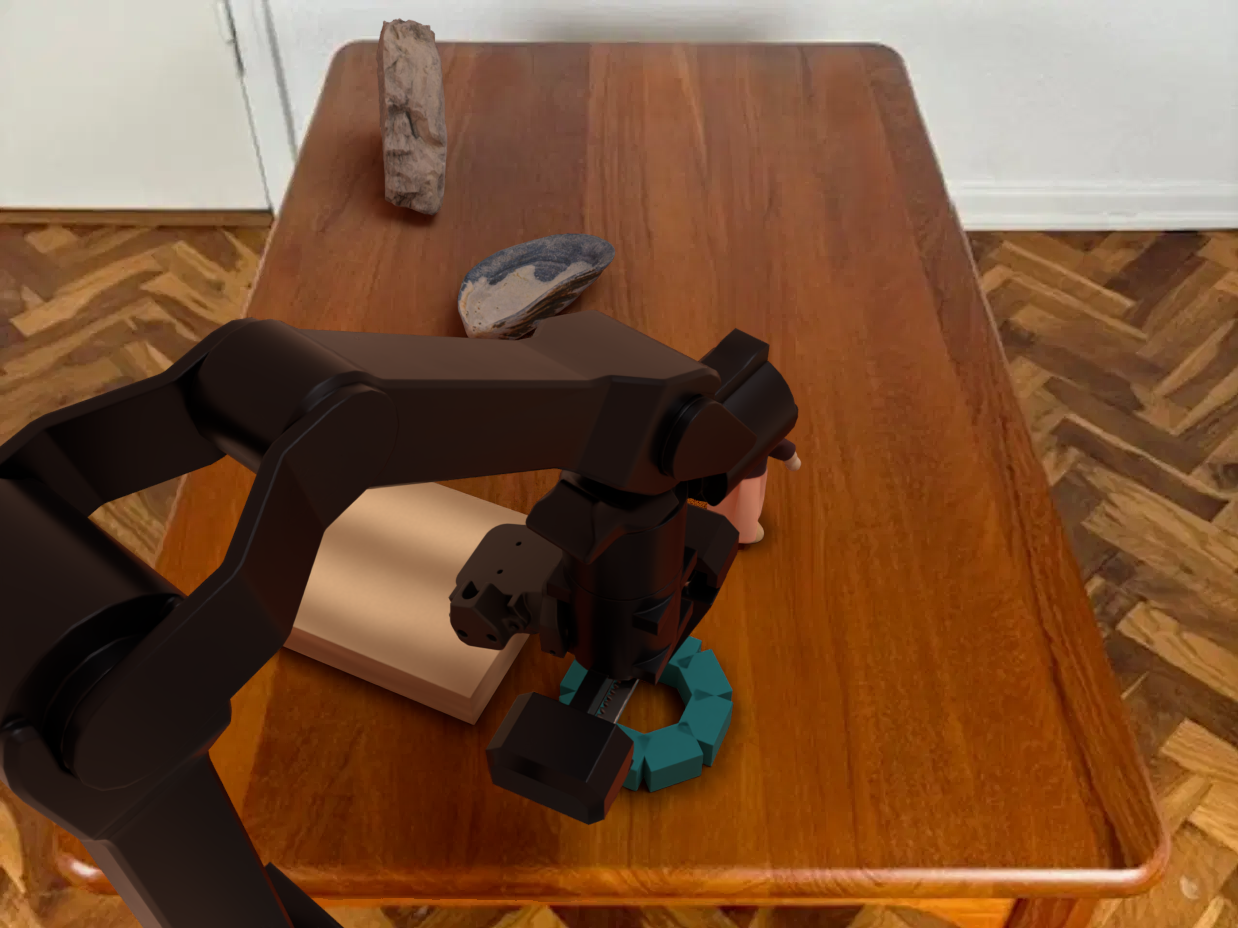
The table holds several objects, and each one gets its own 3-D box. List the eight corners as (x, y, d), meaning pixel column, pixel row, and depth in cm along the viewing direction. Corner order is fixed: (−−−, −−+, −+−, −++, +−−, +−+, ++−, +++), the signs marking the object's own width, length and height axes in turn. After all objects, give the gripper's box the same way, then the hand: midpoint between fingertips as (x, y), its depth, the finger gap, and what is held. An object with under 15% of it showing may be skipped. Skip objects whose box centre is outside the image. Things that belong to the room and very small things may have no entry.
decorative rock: (382, 136, 117) (358, -13, 106) (450, 131, 118) (433, -18, 107) (383, 233, 106) (356, 77, 95) (458, 227, 107) (440, 72, 96)
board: (474, 725, 72) (470, 698, 69) (228, 624, 77) (217, 595, 75) (576, 560, 80) (575, 531, 78) (349, 479, 86) (343, 449, 83)
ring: (689, 814, 68) (691, 793, 66) (535, 750, 70) (533, 728, 69) (749, 681, 74) (753, 659, 72) (606, 627, 77) (605, 604, 75)
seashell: (617, 378, 93) (617, 328, 89) (456, 379, 93) (449, 330, 89) (614, 259, 104) (614, 210, 100) (469, 260, 103) (464, 211, 100)
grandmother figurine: (698, 566, 80) (709, 432, 71) (675, 526, 82) (683, 391, 73) (800, 535, 82) (824, 400, 73) (775, 496, 84) (795, 361, 75)
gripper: (557, 381, 64) (566, 565, 75) (367, 642, 52) (411, 813, 64) (753, 443, 61) (731, 625, 72) (597, 735, 49) (600, 897, 60)
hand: (621, 729), depth 67 cm, fingers open, 9 cm apart
